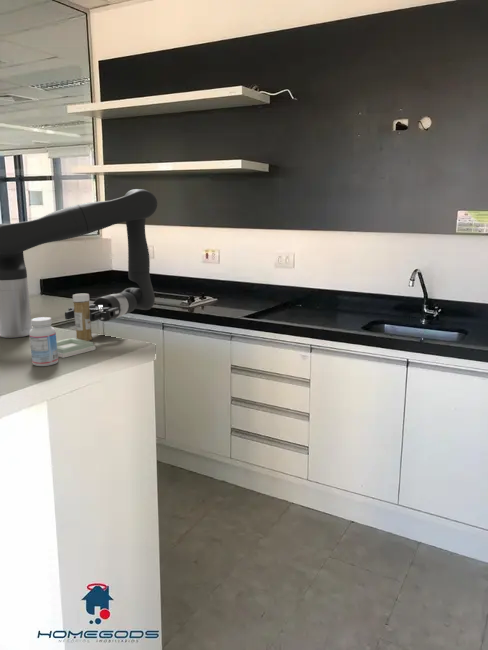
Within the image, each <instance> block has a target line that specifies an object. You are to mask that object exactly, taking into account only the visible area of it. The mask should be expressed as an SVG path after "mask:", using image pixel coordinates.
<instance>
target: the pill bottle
mask: <svg viewBox="0 0 488 650" xmlns="http://www.w3.org/2000/svg"><path fill="white" fill-rule="evenodd" d="M52 323H53V322H52V317H49V316H48V317H47V316H42V317H41V316H40V317H35V318H31V325H32V329H31V330H30V332H29V335H28V336H29V342H30V352H31V362H32V365H33V366H36V367H48V366H54V365H56V364H57V363H58V362H59V356H58V351H57V341H58V340H57V331H56V329H55V328H54V326H52Z"/></svg>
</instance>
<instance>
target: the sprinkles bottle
mask: <svg viewBox="0 0 488 650" xmlns="http://www.w3.org/2000/svg"><path fill="white" fill-rule="evenodd" d="M72 301H73V302H72V303H73V307H74V315H75V318H74V325H75V333H76V337H75V338H76V339H80V340H85V341H89V342H90V341H92V340H93V335H92V321H90V309H89V305H90V294H89V293H84V292H83V293H75V294H72Z"/></svg>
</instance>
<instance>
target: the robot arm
mask: <svg viewBox="0 0 488 650" xmlns="http://www.w3.org/2000/svg"><path fill="white" fill-rule="evenodd" d="M157 208H158V199H157V198H156V196H155V195H154V193H152V192H151V191H149V190H147V189H143V188H142V189H141V188H140V189H139V188H135V189H131V190H128V191H127V192H126V193H125V195H124V196H121V197H118V198H114V199H110V200H101V201H92V202H86V203H85V202H84V203H79V204H75V205H72V206H67V207H64V208H62V209H58V210H55V211H53V212H51V213H47V214H46V215H44V216H41V217H39V218H36V219H32V220H28V221H20V222H15V223H0V338H5V339H6V338H7V339H9V338H10V339H12V338H21V337H26V336H30V335H29V332H30V330H31V329H32V328H33V326H32V325H31V320H32V312H31V303H30V302H31V301H30V292H29V283H28V272H27V271H28V270H27V268H26V263H25V257H24V255H25V254H24V252H25V251H28V250H30V249H33V248H35V247H38V246H41V245H43V244H44V245H45V244H47V243H49V244H50V243H53V242H60V241H64V240H70V239H73V238H74V239H75V238H77V237H81V236H86V235H88V234H92V233H95V232H97V231H101V230H103V229H106V228H108V227H112V226H115V225H117V224H120V223H125V225H126V227H125V228H126V233H127V236H126V237H127V250H128V251H127V252H128V253H127V254H128V255H127V259H128V261H127V263H128V264H127V265H128V266H127V268H128V269H127V271H128V273H127V274H128V279H129V280H130V281H132V282H133V283H136V284H137V285H138V287H128V288H127V287H126V288H125V289H124V290H122V291H121V292H118V293H112V294H111V293H110V294H108V295H104V296H100V297H97V298H96V299H95V300H94V301H93V303H92V304H91V303H89V309H90V321H91V322H94V321H100V322H109V321H112V320H115V319H118V318H120V317H122V316H124V315H127V314H129V313H132V312H134V310H142V311H143V310H144V311H148V310H151V309H152V308H153V306H154V304H155V301H156V300H155V299H156V297H155V292H154V288H153V285H152V281H151V280H152V279H151V276H150V272H151V271H150V270H151V269H150V265H151V264H150V263H151V262H150V261H151V259H150V251H149V246H148V242H147V237H146V219H147V218H149V217H151V216H153V215H154V213H156V211H157ZM64 318H65V320H71V319H75V315H74V306H72V307H69V308H68V311H67V310H66V311H65V312H64Z"/></svg>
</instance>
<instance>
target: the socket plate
mask: <svg viewBox="0 0 488 650" xmlns="http://www.w3.org/2000/svg"><path fill="white" fill-rule="evenodd" d="M76 338H77V337H70V338H66V339H65V338H64V339H61V340H56V341H57V351H58V358H67V357H71V356H75V355H80V354H84V353H88V352H91V351H96V348H97V347H96V345H94V342H93V341H90V340H89V341H85V340H80V339H76Z"/></svg>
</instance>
